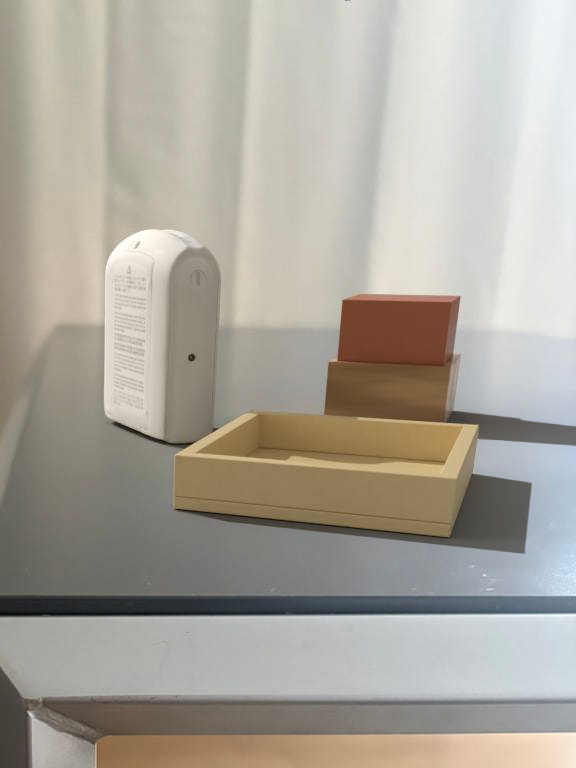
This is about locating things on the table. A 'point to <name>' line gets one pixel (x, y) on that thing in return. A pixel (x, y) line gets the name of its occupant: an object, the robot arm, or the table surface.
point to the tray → (331, 471)
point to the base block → (392, 390)
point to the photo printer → (162, 335)
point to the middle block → (398, 328)
